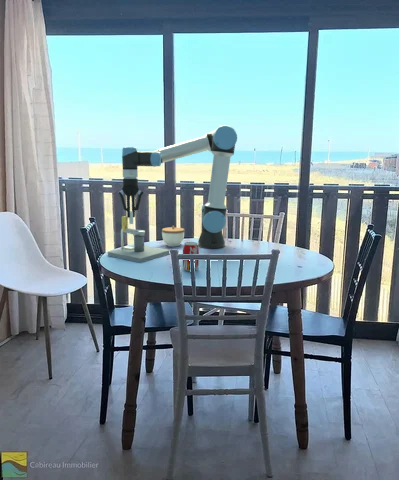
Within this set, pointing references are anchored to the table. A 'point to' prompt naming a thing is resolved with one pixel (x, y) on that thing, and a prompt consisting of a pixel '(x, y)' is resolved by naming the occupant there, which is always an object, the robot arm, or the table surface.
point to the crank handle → (131, 231)
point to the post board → (139, 255)
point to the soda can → (190, 249)
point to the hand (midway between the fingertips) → (131, 223)
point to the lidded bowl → (173, 236)
